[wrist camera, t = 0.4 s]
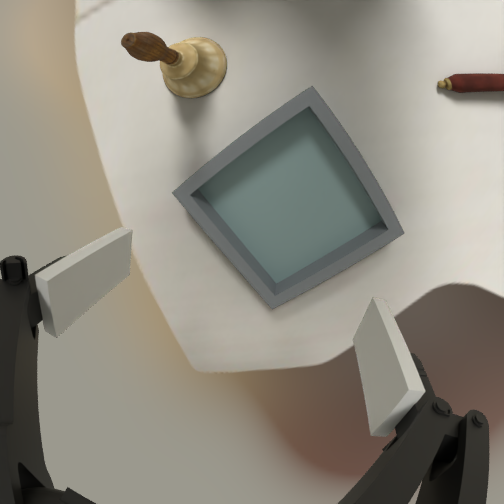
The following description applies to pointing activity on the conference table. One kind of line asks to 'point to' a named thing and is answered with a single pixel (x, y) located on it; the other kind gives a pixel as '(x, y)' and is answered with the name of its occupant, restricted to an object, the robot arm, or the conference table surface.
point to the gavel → (473, 82)
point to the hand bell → (181, 62)
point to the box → (291, 201)
